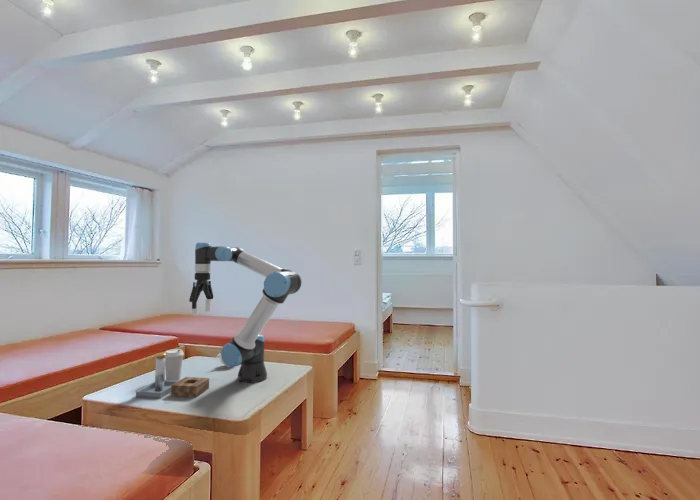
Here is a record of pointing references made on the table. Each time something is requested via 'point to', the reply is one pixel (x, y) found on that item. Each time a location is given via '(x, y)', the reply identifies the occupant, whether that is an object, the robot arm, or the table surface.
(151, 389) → the tray
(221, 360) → the teapot
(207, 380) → the socket block
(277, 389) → the table surface
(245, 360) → the robot arm
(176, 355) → the coffee cup
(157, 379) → the hitch pin
